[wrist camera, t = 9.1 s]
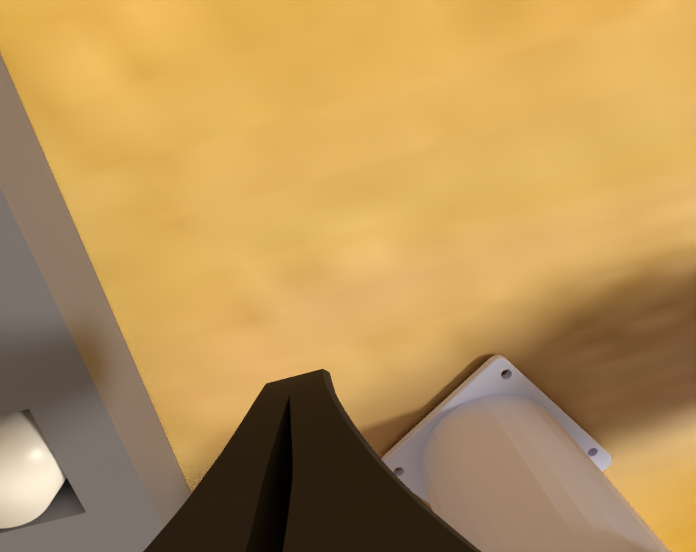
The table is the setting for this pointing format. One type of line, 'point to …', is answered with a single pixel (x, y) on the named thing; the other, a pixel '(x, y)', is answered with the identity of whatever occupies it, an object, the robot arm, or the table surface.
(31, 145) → the control strip
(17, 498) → the button mid
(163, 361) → the table surface
